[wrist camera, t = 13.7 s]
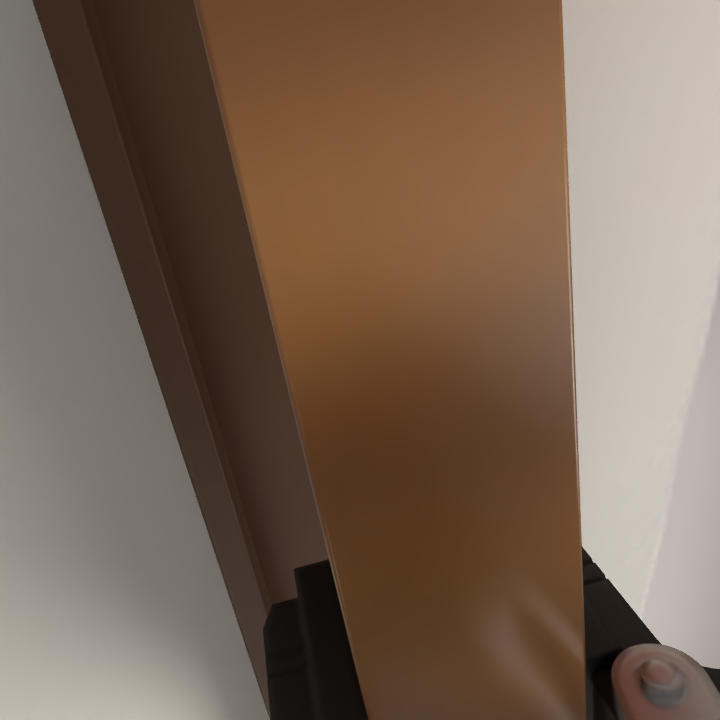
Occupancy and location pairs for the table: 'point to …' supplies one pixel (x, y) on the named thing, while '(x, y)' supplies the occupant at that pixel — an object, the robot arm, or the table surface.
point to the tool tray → (192, 284)
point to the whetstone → (423, 329)
